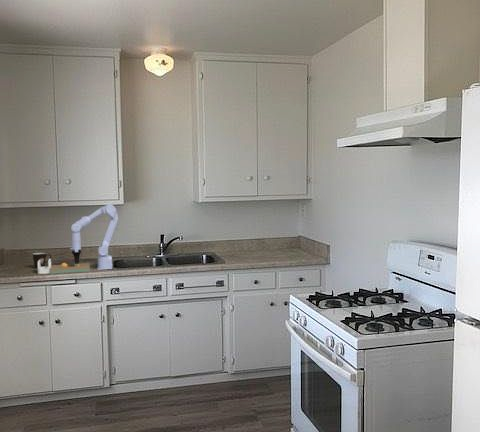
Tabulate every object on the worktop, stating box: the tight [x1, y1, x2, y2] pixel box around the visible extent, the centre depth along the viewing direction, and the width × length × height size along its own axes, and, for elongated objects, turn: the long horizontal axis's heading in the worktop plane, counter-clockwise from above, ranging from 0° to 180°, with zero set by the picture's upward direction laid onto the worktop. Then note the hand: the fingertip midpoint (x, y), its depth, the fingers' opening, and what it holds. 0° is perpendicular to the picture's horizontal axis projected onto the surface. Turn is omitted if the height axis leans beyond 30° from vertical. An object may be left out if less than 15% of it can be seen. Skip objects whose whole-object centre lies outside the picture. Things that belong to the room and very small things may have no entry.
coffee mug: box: [32, 252, 52, 270], centre depth 349 cm, size 12×9×10 cm
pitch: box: [37, 258, 91, 275], centre depth 334 cm, size 32×12×8 cm, turn 108°
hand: (76, 261), depth 337 cm, fingers closed on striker, 3 cm apart
